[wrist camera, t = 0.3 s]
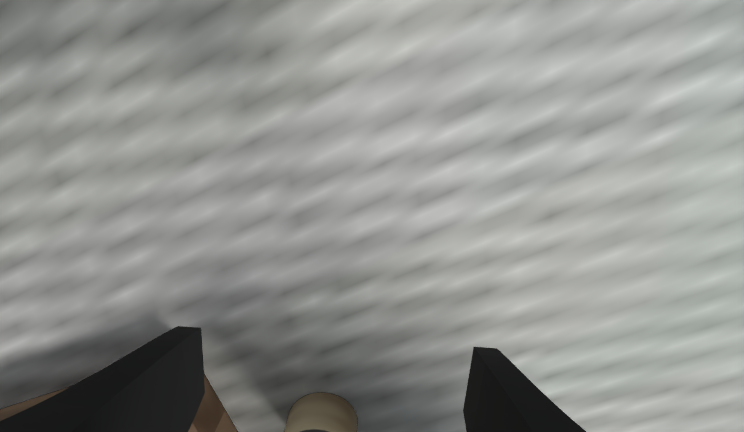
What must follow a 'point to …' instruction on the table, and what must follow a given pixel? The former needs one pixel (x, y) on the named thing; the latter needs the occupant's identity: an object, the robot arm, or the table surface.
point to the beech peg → (321, 414)
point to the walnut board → (207, 428)
